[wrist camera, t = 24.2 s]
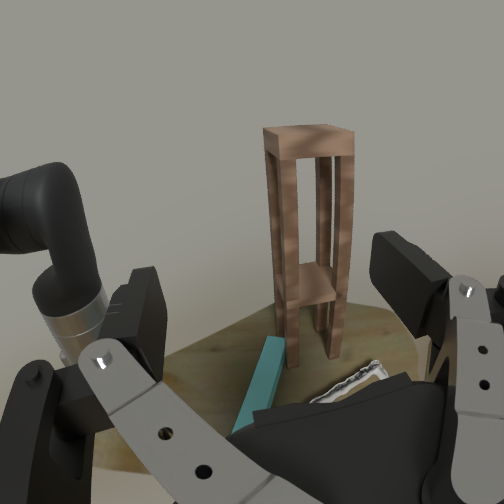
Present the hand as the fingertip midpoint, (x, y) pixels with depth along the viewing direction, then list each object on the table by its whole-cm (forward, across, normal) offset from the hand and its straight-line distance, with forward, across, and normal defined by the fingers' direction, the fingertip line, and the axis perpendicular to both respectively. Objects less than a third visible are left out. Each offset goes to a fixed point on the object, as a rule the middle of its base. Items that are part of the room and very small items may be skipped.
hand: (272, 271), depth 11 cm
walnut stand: (+24, +9, -30) cm, 40 cm away
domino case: (+15, 0, -30) cm, 34 cm away
